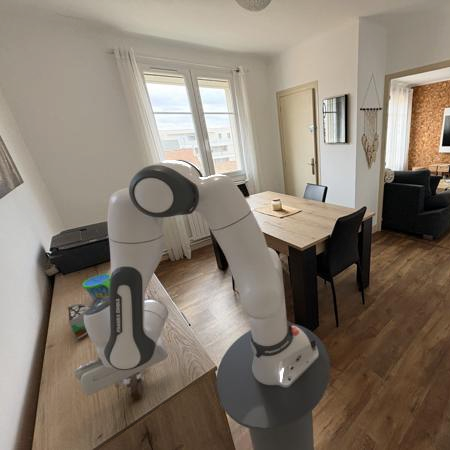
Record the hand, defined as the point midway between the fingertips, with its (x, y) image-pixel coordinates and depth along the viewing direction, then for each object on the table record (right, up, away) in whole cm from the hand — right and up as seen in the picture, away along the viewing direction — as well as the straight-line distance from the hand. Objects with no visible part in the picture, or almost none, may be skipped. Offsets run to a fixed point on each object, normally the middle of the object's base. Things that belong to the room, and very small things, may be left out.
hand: (135, 382), depth 72 cm
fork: (-1, -1, +2) cm, 3 cm away
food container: (-36, +5, +24) cm, 44 cm away
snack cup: (-45, +12, +43) cm, 64 cm away
